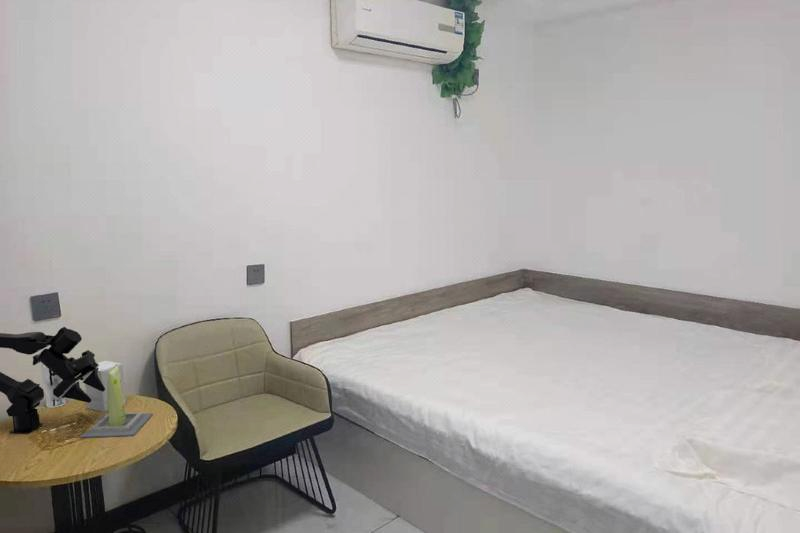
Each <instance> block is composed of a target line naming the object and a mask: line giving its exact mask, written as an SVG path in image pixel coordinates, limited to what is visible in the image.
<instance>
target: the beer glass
mask: <svg viewBox="0 0 800 533" xmlns="http://www.w3.org/2000/svg"><path fill="white" fill-rule="evenodd" d="M40 368H41V369H40V371H41V372H40V373H41V374H40V375H41V382H42V385H43V390H44V393H45V395H46V396H45V397H46V402H45V403H46V408H48V409H54V408H60V407H62V406H63V407H64V406H65V405H66V404H67V398H62V396H63V395H64V394H63V395H62V396H60V397H59V398H57V397H56V396H55V395H53V389H54V388H55V387H56V386H57V385H58V384H59V383H60V382H61V381H62V379H61V378H59V377H58V376H57V375H55V376H54V377H53V376H52V375H51V374H52V373H53V372H52V371H51V370H50V369H49V368H47V367H46V366H45V365H44V364H43V363H42V364H41V366H40Z"/></svg>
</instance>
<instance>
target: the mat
mask: <svg viewBox="0 0 800 533" xmlns="http://www.w3.org/2000/svg"><path fill="white" fill-rule="evenodd" d="M105 415H106V414H103V416H102V417H100V418H99V419H98V420H97V421H96V422H94V424H97V423H98V422H99V421H100V420H101V419H102V418H103V417H104V416H105ZM153 415H154V414H153V412H151V413H149V412H147V413H143V417H142V418H141V419H140V420H139V421H138V423H137V424H136V425H135V426H134V427H133V428H132V429H131V430H130V431H129V432H106V433H91V430H89V431H87V430H86V431H85V432H83V433H82V434H81V435H80V436H79V439H87V438H88V439H93V438H95V439H96V438H118V437H119V438H120V437H134V436H135V435H136V434H137V433H138V432H140V431H139V430H141V429H142V428H143V427H144V425H146V423H147V422H148V421H149V420H150V419H151V418H152V417H153ZM132 419H133V418H126V423H125V424H124V425H122V426H126V425H127V424H128V423H129V422H130V421H131V420H132ZM103 426H109V421H108V422H106V423H105V424H104V425H103Z"/></svg>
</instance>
